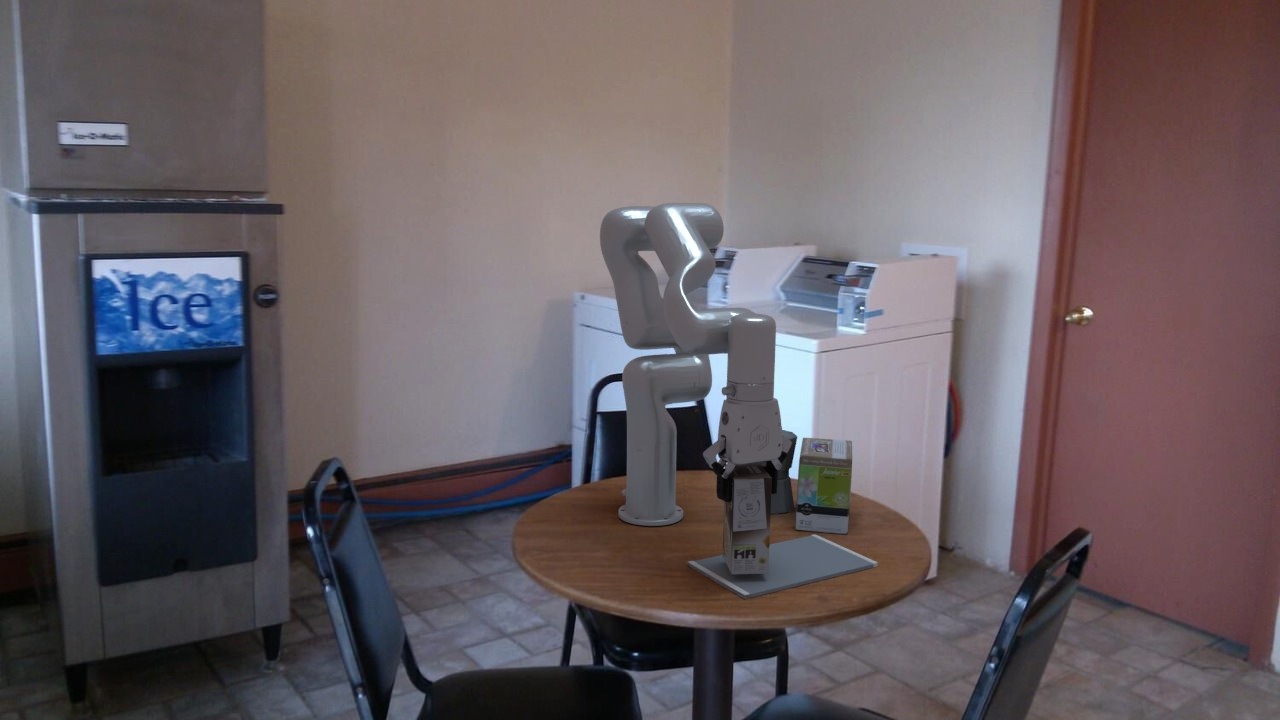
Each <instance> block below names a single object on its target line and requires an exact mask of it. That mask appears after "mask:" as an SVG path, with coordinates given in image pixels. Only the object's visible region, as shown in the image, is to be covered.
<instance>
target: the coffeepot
mask: <svg viewBox="0 0 1280 720" xmlns="http://www.w3.org/2000/svg"><path fill="white" fill-rule="evenodd" d="M781 428H782V436H784V437H785V438H787V439H789V440H790V441H791V442H792V445H791V447H790V449H789V451H788V453H787V457H786V458H785V460H784V461H783V462H782V464H781V465H782V466H781V469H780V470H778V479H777V493H776V494H772V493H771V515H780V514H779V513H782V514H787V513H789V511H790V510H791V511H792V510H793V509H795V504H794V496H793V488H792V480H791V477H790V469H792V468H793V461H794V456H795V451H796V447H797V446H796V445H797V440H798V435H796V434H795V433H794V432H793V431H790V430H785V429H783V426H782V425H781ZM760 464H761V465H762V466H766V464H765V462H760ZM791 511H790V512H791ZM786 512H787V513H786Z"/></svg>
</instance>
